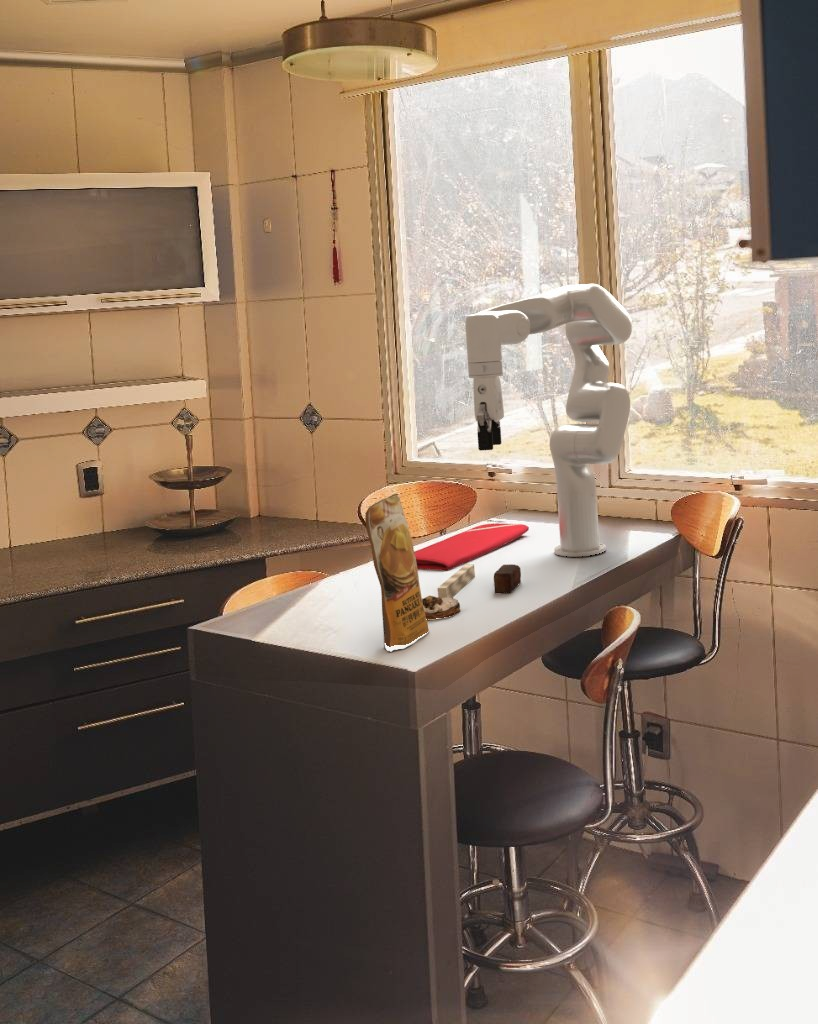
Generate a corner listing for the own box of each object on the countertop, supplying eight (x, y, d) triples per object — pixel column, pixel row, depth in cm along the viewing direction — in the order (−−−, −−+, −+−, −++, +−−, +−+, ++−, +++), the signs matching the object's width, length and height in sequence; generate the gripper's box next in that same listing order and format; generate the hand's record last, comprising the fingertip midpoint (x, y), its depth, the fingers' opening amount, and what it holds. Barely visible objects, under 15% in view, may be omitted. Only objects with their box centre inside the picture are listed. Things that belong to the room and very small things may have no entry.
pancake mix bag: (365, 654, 226) (351, 508, 221) (408, 626, 243) (396, 489, 238) (398, 656, 223) (384, 508, 219) (438, 627, 240) (427, 489, 235)
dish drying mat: (395, 569, 298) (394, 554, 298) (481, 535, 331) (480, 521, 331) (449, 573, 289) (447, 557, 289) (531, 537, 322) (530, 523, 322)
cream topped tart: (406, 605, 261) (404, 587, 261) (473, 605, 257) (471, 586, 256) (386, 624, 247) (384, 605, 247) (456, 624, 243) (455, 604, 243)
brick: (512, 594, 262) (510, 573, 261) (494, 594, 263) (492, 573, 263) (521, 582, 272) (520, 562, 271) (504, 582, 273) (503, 562, 273)
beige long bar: (466, 576, 281) (465, 564, 281) (475, 576, 281) (474, 564, 280) (438, 601, 261) (437, 588, 260) (447, 601, 260) (446, 588, 260)
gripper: (494, 371, 256) (499, 451, 258) (509, 366, 272) (513, 442, 275) (460, 373, 258) (465, 453, 260) (476, 368, 274) (481, 443, 277)
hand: (490, 447), depth 268 cm, fingers open, 9 cm apart
